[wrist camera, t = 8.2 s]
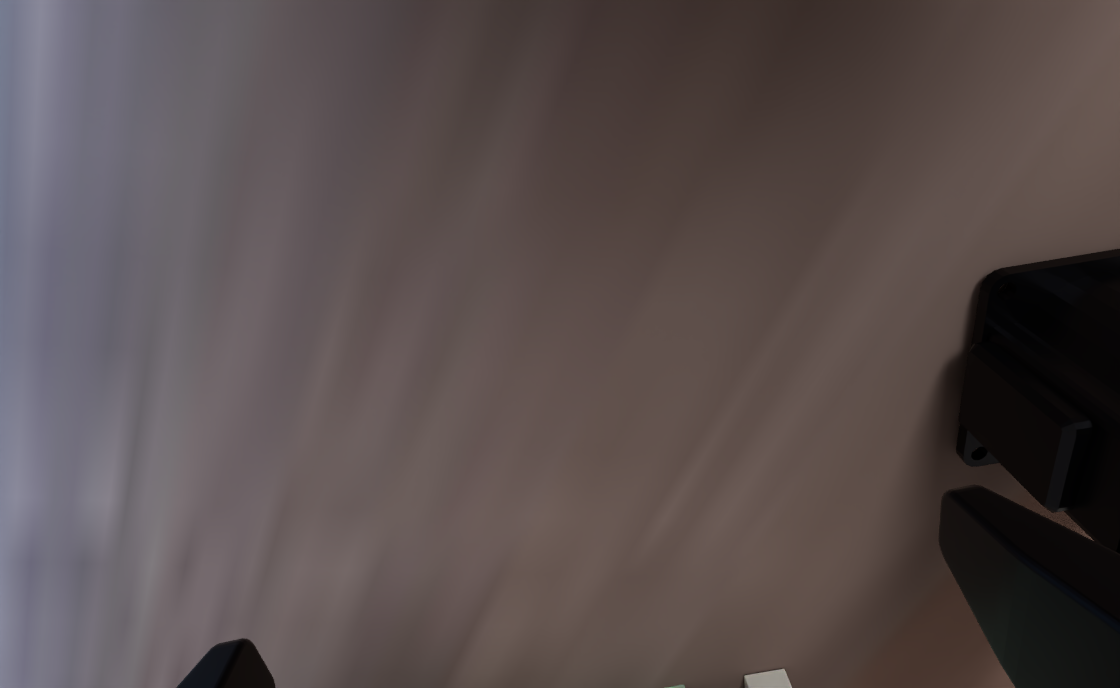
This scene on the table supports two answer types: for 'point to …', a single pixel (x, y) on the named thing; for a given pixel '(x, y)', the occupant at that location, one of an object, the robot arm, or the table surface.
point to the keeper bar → (679, 687)
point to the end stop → (768, 680)
